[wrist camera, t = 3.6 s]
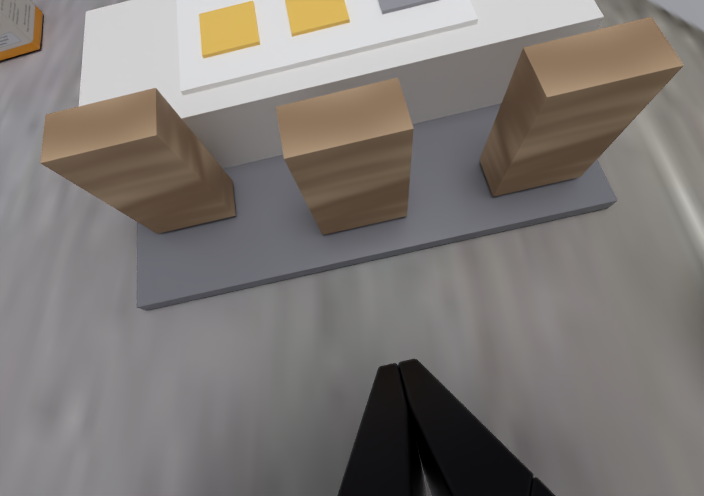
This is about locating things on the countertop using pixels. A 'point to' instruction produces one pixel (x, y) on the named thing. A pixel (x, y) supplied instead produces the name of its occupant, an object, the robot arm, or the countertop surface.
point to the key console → (317, 80)
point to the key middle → (350, 154)
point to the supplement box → (19, 27)
